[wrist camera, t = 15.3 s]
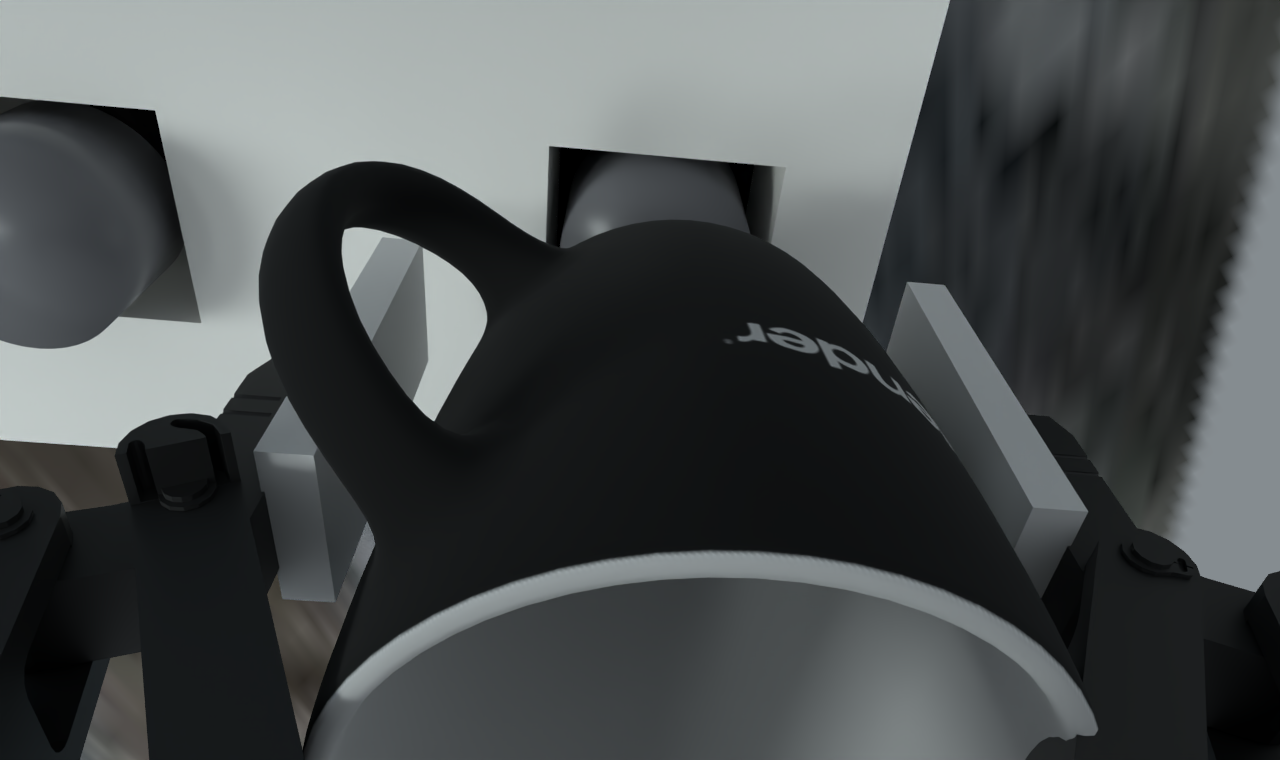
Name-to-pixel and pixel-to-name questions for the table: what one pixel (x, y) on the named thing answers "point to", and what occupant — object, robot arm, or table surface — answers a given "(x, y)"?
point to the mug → (648, 510)
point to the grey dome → (648, 193)
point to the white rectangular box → (446, 148)
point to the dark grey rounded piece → (78, 222)
